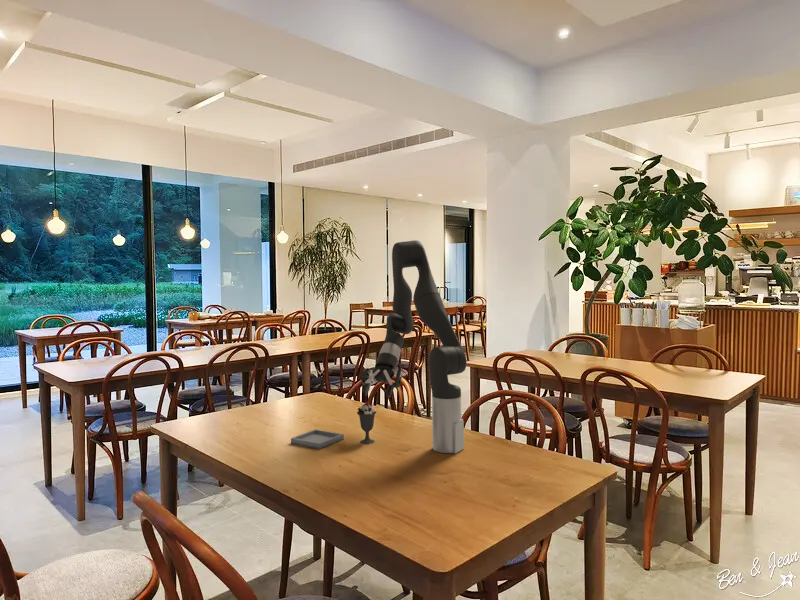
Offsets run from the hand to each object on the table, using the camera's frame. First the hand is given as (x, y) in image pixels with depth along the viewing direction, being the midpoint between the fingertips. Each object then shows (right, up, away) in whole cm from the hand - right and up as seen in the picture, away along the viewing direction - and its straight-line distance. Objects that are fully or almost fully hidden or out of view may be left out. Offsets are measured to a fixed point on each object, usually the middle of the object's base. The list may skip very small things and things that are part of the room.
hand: (376, 395), depth 190 cm
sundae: (-3, -15, -7) cm, 16 cm away
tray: (-20, -15, -6) cm, 25 cm away
